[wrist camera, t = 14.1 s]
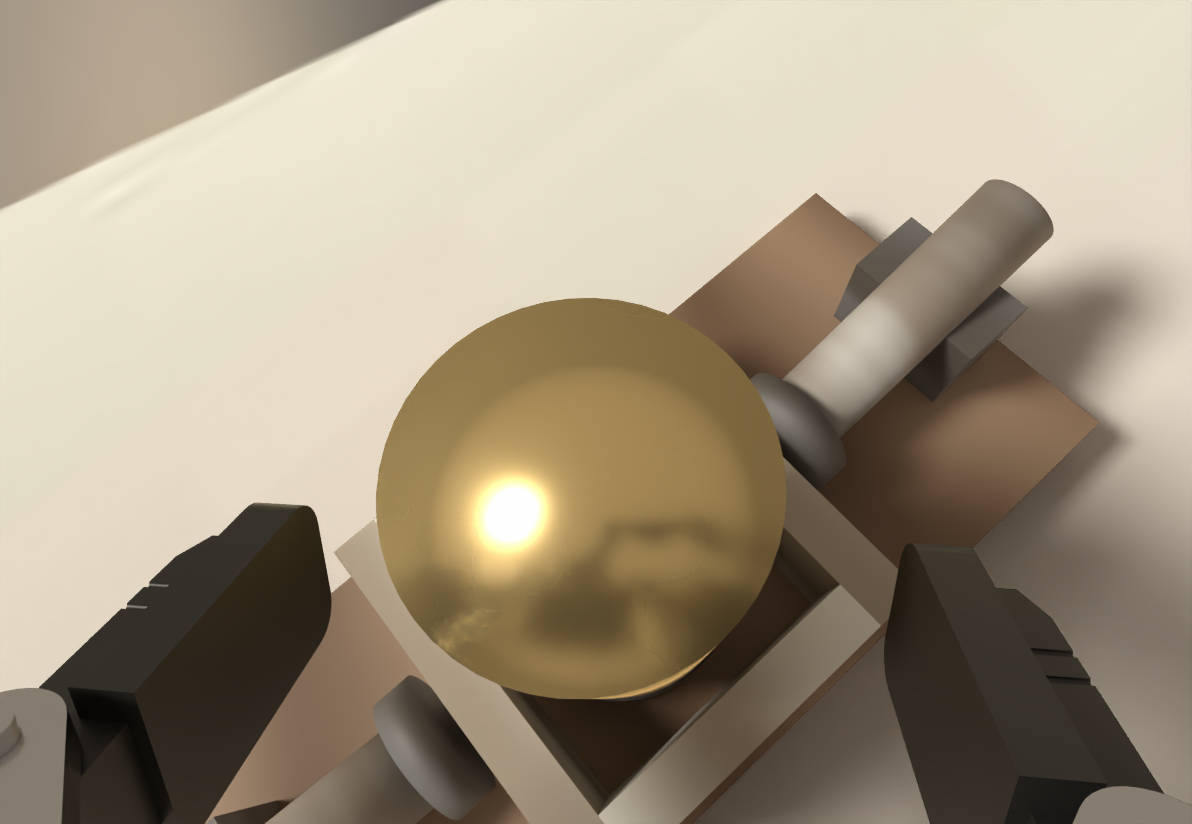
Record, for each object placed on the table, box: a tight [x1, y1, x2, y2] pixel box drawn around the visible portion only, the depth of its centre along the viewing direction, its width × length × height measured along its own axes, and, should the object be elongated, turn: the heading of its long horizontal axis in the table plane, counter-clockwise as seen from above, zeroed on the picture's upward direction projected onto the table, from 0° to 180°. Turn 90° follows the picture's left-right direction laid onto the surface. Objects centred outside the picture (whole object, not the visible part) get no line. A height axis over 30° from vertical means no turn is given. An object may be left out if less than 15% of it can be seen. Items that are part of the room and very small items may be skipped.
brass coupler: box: [376, 298, 787, 701], centre depth 13 cm, size 4×4×10 cm
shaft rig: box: [205, 180, 1099, 824], centre depth 16 cm, size 24×9×6 cm, turn 131°
